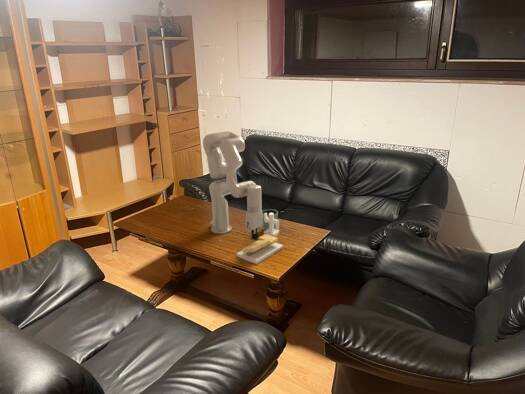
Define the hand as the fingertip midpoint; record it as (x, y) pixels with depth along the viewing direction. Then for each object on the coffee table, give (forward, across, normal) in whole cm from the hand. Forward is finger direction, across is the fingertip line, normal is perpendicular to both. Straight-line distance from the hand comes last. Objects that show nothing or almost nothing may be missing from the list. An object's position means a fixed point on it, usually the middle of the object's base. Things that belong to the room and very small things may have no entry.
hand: (254, 238), depth 214 cm
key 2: (+2, 0, +4) cm, 4 cm away
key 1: (+2, -7, +4) cm, 8 cm away
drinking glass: (+7, -25, -10) cm, 28 cm away
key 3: (+1, +7, +4) cm, 8 cm away
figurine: (+7, -18, -3) cm, 20 cm away
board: (+6, 0, +4) cm, 8 cm away
